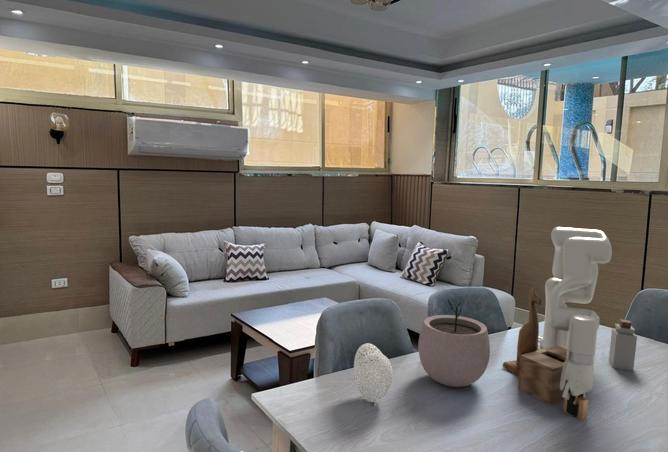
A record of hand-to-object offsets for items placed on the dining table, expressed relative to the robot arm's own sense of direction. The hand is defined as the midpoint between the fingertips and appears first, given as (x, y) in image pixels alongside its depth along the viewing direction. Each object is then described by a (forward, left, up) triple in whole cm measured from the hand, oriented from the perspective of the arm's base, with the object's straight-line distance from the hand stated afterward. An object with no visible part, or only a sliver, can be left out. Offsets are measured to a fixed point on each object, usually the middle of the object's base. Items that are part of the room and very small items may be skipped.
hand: (574, 413), depth 137 cm
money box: (-13, +8, 0) cm, 15 cm away
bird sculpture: (-27, +12, 0) cm, 30 cm away
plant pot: (-33, -19, 0) cm, 38 cm away
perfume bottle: (-14, +52, 0) cm, 54 cm away
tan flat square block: (0, 0, 0) cm, 0 cm away
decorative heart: (-34, -52, 0) cm, 62 cm away
